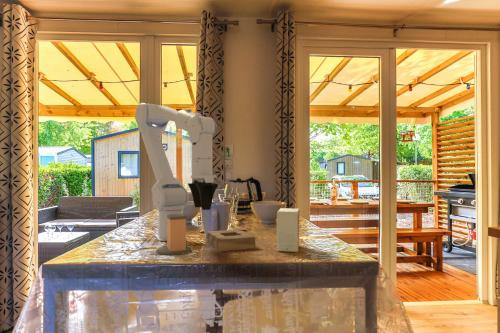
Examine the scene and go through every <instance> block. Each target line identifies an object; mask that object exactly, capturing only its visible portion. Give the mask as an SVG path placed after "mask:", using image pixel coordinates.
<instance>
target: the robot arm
mask: <svg viewBox="0 0 500 333" xmlns="http://www.w3.org/2000/svg"><path fill="white" fill-rule="evenodd" d="M134 119H135V122H136V125H137V128H138V130H139V133H140V134H141V139H142V141H143V145H144V147H145V150H146V153H147V156H148V159H149V162H150V165H151V169H152V171H153V175H154V178H155V180H156V182H155V183H154V184H153V186H152V187H151V190H150V191H151V193H152V194H151V195H152V196H151V197H152V198H151V199H152V203H153V205H154V208H156V210H158V216H157V233H156V234H155V233H154V237H155V238H156V239H157V240H158V242H167V222H168V218H167V215H171V214H184V213H183V212H184V210H185V208H186V206H187V204H188V202H189V198H190V197H189V192H188V189H186V187H185V186H184V184H183V182H182V181H181V180H179V179H178V178H176V177H174V174H173V171H172V167H171V166H170V162H169V160H168V157H167V154H166V150H165V149H164V145H163V143H162V140H161V137H160V136H161V135H164V133H165V130H166V129H167V127H168V124H169V122H170V121H171V122H174V124H175V127H177V128H178V129H180V130H183V131H185V132H187V134H188V135H189V141H190V143H191V175H190V177H191V178H190V179H192V180H191V181H192V183H189V182H188V183H187V186H188V188H189V190H190V192H191V196H192V201H193V205H194V207H195V208H201V209H202V211H208V210H211V208H212V204H213V199H214V196H215V193H216V190H217V189H218V186H219V184H218V183H214V181H215V180H214V179H215V178H217V177H218V176H217V175H215V174H214V175H213V138H214V136H215V135H216V133H217V127H218V126H217V122H216V120H215V119H214V118H212V117H211V116H203V115H202V113H199V112H196V113H195V112H192V109H190V108H185V109H181V110H176V109H174V108H173V107H170V106H166V105H160V104H153V103H145V102H141V103H139V104H138V105H137V107H136V109H135V114H134Z"/></svg>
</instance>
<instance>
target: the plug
mask: <svg viewBox="0 0 500 333" xmlns="http://www.w3.org/2000/svg"><path fill="white" fill-rule="evenodd" d="M167 218H168V222H167V241H166V242H167V245H166V246H167V248H168V250H169V251H181V250H186V246H187V245H186V244H187V215H186V214H184V213H183V214H171V215H167Z"/></svg>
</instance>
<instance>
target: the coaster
mask: <svg viewBox="0 0 500 333" xmlns="http://www.w3.org/2000/svg"><path fill="white" fill-rule="evenodd" d="M155 251H156V253H157V254H158V255H162V256H178V255H185V254H188V253H191V252H192V247H191V246H190V245H189V246H188V245H186V250H181V251H169V250H168V248H167V245H165V246H161V247H159V248H156V249H155Z"/></svg>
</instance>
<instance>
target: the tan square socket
mask: <svg viewBox="0 0 500 333" xmlns="http://www.w3.org/2000/svg"><path fill="white" fill-rule="evenodd" d="M206 236H207V238H206V239H207V240H206V242H207V243H208V244H210V245H211V246H212V247H214V248H215V249H217V250H219V251H220V252H226V251H236V250H237V251H238V250H245V249H256V236H255V235H252V234H250V233H248V232H246V231H243V230H241V229H240V228H239V229H228V230H227V229H226V230H225V229H224V230H215V231H214V230H213V231H207V234H206Z"/></svg>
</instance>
